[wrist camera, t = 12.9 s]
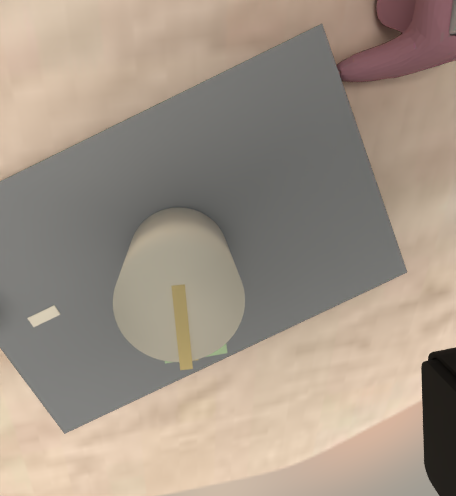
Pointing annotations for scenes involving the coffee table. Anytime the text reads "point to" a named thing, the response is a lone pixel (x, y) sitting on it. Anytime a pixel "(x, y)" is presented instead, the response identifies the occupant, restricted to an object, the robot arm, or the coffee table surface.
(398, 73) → the video game controller
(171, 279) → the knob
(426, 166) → the coffee table surface
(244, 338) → the dial board
